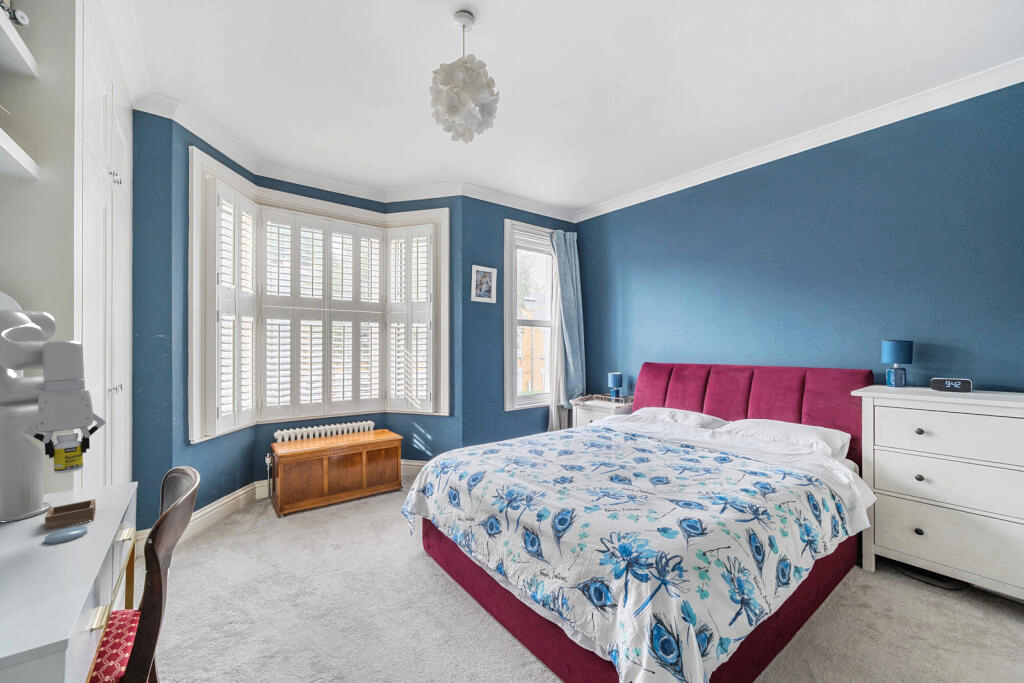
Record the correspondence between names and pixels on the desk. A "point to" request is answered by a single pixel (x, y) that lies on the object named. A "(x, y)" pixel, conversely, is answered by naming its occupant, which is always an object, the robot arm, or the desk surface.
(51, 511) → the walnut holder
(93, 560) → the desk surface
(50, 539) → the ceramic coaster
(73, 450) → the supplement bottle
